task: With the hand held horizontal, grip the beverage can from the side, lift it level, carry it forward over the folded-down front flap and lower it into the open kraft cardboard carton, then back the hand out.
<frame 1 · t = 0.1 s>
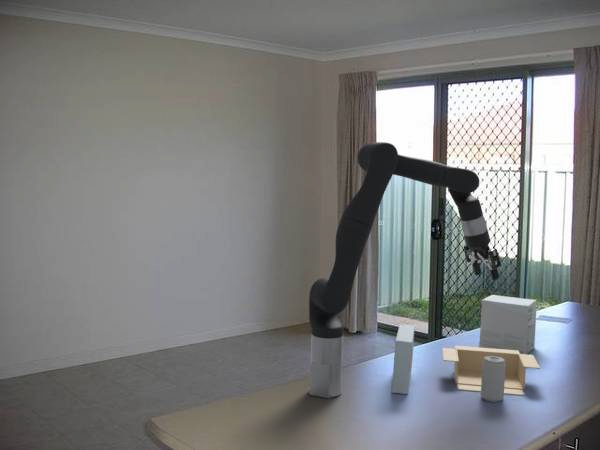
hand: (487, 276, 217), 31 cm above the counter, tool tilted 20°, fingers open, 8 cm apart
supplement box: (506, 348, 250), on the counter
beverage can: (491, 399, 196), on the counter
skincare box: (402, 383, 208), on the counter
carton: (487, 381, 211), on the counter
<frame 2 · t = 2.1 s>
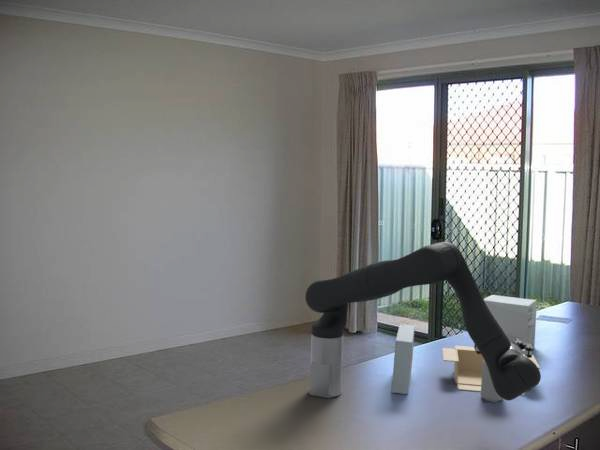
hand: (500, 340, 183), 20 cm above the counter, tool horizontal, fingers open, 8 cm apart
nothing on the counter moved.
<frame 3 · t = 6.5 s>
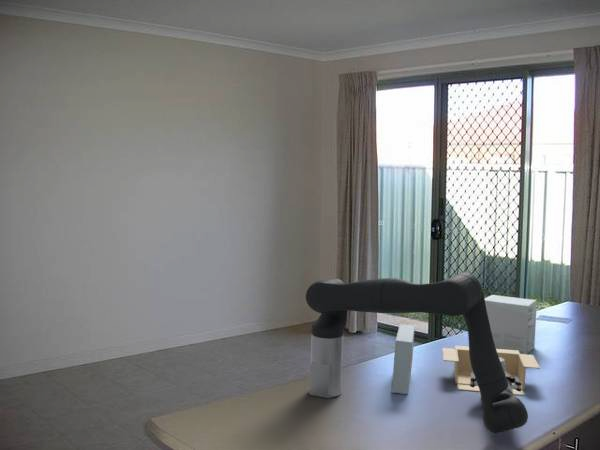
hand: (492, 373, 197), 7 cm above the counter, tool horizontal, fingers closed on beverage can, 6 cm apart
beverage can: (491, 399, 196), on the counter, touching gripper
everything else where it was.
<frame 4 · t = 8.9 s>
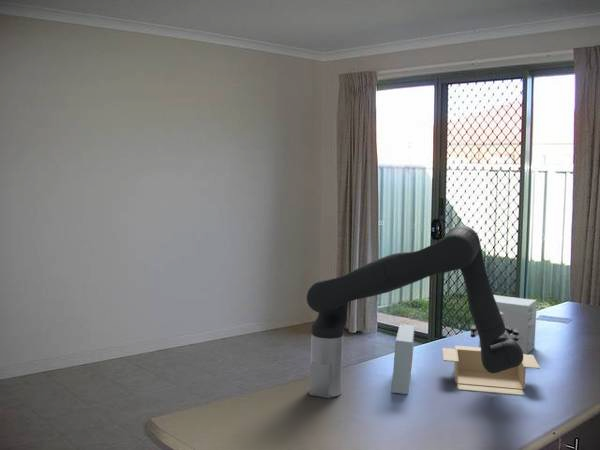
hand: (492, 326, 208), 18 cm above the counter, tool horizontal, fingers closed on beverage can, 6 cm apart
beverage can: (491, 351, 207), point 11 cm above the counter, touching gripper
everything else where it was.
when the fingers open (8 cm above the counter, at t = 11.6 s): beverage can stays where it is, resting on carton.
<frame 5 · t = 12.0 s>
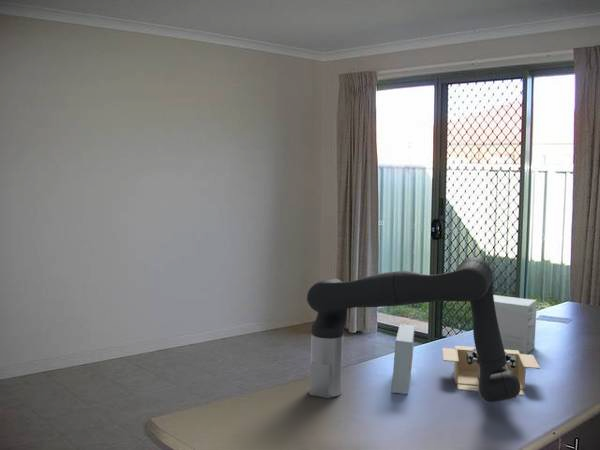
hand: (488, 352, 212), 9 cm above the counter, tool horizontal, fingers open, 8 cm apart
beverage can: (487, 380, 211), resting on carton
everything else where it was.
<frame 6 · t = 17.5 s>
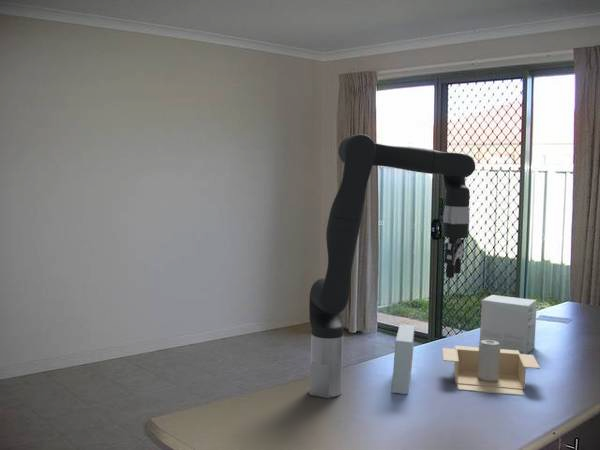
hand: (453, 275, 202), 34 cm above the counter, tool pointing down, fingers open, 8 cm apart
nothing on the counter moved.
at the end: beverage can 0.2 cm from the carton (horizontally); beverage can tilted 0°; beverage can resting on carton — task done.
